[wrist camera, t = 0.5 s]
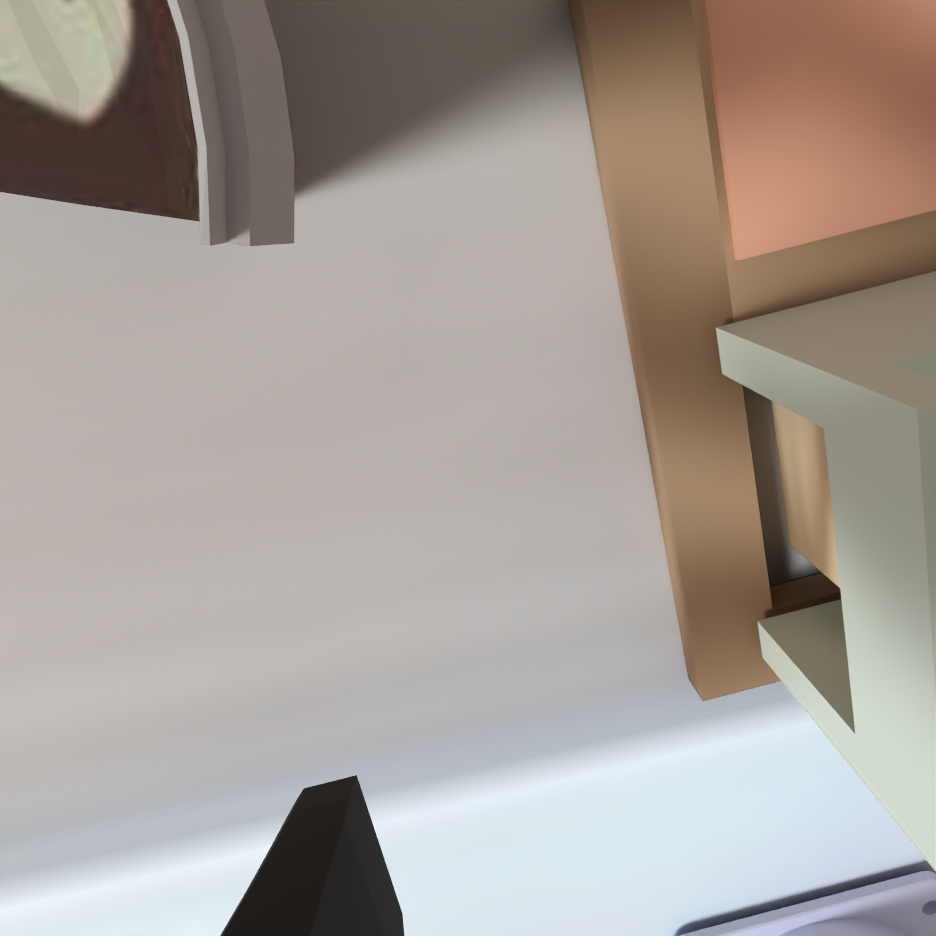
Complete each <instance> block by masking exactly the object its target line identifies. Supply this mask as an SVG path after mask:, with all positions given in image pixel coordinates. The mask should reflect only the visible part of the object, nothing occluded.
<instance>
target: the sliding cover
mask: <svg viewBox="0 0 936 936" xmlns="http://www.w3.org/2000/svg"><path fill="white" fill-rule="evenodd" d="M716 333H717V340H718V348H719V355H720V362H721V369H722V374H723V375H725V376H727V377H729V378H730V379H732V380H734V381H736V382H738V383H740V384H742V385H744V386H745V387H747V388H749V389H751V390H753V391H755V392H757V393H758V394H760V395H762V396H764V397H766V398H768V399H770V400H772V401H773V402H775V403H777V404H779V405H781V406H783V407H785V408H786V409H788V410H790V411H792V412H794V413H796V414H798V415H800V416H801V417H803V418H805V419H807V420H809V421H811V422H813V423H814V424H816V425H818V426H820V427H822V428H824V436H825V446H826V455H827V465H828V475H829V484H830V494H831V504H832V513H833V523H834V533H835V542H836V552H837V562H838V571H839V581H840V591H841V599H840V600H836V601H832V602H828V603H825V604H821V605H817V606H813V607H809V608H805V609H802V610H798V611H794V612H790V613H786V614H782V615H778V616H775V617H771V618H767V619H763V620H759V621H757V622H758V629H759V636H760V643H761V650H762V657H763V659H764V660H765V661H766V662H767V664H768V665H769V666H770V667H771V669H772V670H773V671H774V672H775V673H776V675H777V676H778V677H779V678H780V680H781V681H782V682H783V683H784V685H785V686H786V687H787V688H788V690H789V691H790V692H791V693H792V694H793V696H794V697H795V698H796V699H797V701H798V702H799V703H800V704H801V706H802V707H803V708H804V709H805V711H806V712H807V713H808V714H809V716H810V717H811V718H812V719H813V720H814V722H815V723H816V724H817V725H818V727H819V728H820V729H821V730H822V732H823V733H824V734H825V735H826V737H827V738H828V739H829V740H830V741H831V743H832V744H833V745H834V746H835V748H836V749H837V750H838V751H839V753H840V754H841V755H842V756H843V758H844V759H845V760H846V761H847V763H848V764H849V765H850V766H851V767H852V769H853V770H854V771H855V772H856V774H857V775H858V776H859V777H860V779H861V780H862V781H863V782H864V784H865V785H866V786H867V787H868V789H869V790H870V791H871V792H872V793H873V795H874V796H875V797H876V798H877V800H878V801H879V802H880V803H881V805H882V806H883V807H884V808H885V810H886V811H887V812H888V813H889V814H890V816H891V817H892V818H893V819H894V821H895V822H896V823H897V824H898V826H899V827H900V828H901V829H902V831H903V832H904V833H905V834H906V836H907V837H908V838H909V839H910V840H911V842H912V843H913V844H914V845H915V847H916V848H917V849H918V850H919V852H920V853H921V854H922V855H923V857H924V858H925V859H926V860H927V861H928V863H929V864H930V865H931V866H932V868H933V869H934V870H935V871H936V271H934V272H930V273H926V274H922V275H918V276H914V277H910V278H907V279H903V280H899V281H895V282H891V283H887V284H883V285H879V286H875V287H872V288H868V289H864V290H860V291H856V292H852V293H848V294H844V295H840V296H837V297H833V298H829V299H825V300H821V301H817V302H813V303H809V304H805V305H801V306H798V307H794V308H790V309H786V310H782V311H778V312H774V313H770V314H766V315H763V316H759V317H755V318H751V319H747V320H743V321H739V322H735V323H731V324H728V325H724V326H720V327H716Z"/></svg>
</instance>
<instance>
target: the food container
mask: <svg viewBox="0 0 936 936" xmlns="http://www.w3.org/2000/svg"><path fill="white" fill-rule="evenodd" d="M0 192H5V193H11V194H18V195H24V196H30V197H37V198H43V199H49V200H56V201H62V202H68V203H75V204H81V205H88V206H95V207H102V208H109V209H116V210H123V211H130V212H137V213H145V214H152V215H159V216H166V217H173V218H180V219H187V220H194V221H200V240H201V244H203V245H216V244H221V243H226V242H228V243H234V244H240V245H247V246H257V245H272V244H288V243H294V150H293V142H292V135H291V128H290V120H289V113H288V105H287V98H286V91H285V83H284V76H283V68H282V61H281V57H280V54H279V50H278V47H277V43H276V39H275V36H274V32H273V29H272V25H271V22H270V18H269V15H268V11H267V7H266V4H265V0H0Z"/></svg>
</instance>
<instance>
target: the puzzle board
mask: <svg viewBox="0 0 936 936" xmlns="http://www.w3.org/2000/svg"><path fill="white" fill-rule="evenodd" d="M568 2H569V7H570V13H571V19H572V24H573V30H574V36H575V41H576V47H577V52H578V58H579V64H580V69H581V75H582V81H583V86H584V92H585V98H586V103H587V109H588V114H589V120H590V126H591V131H592V137H593V143H594V148H595V154H596V160H597V165H598V171H599V176H600V182H601V188H602V193H603V199H604V205H605V210H606V216H607V221H608V227H609V233H610V238H611V244H612V250H613V255H614V261H615V267H616V272H617V278H618V283H619V289H620V295H621V300H622V306H623V312H624V317H625V323H626V329H627V334H628V340H629V345H630V351H631V357H632V362H633V368H634V374H635V379H636V385H637V391H638V396H639V402H640V407H641V413H642V419H643V424H644V430H645V436H646V441H647V447H648V452H649V458H650V464H651V469H652V475H653V481H654V486H655V492H656V498H657V503H658V509H659V514H660V520H661V526H662V531H663V537H664V543H665V548H666V554H667V560H668V565H669V571H670V576H671V582H672V588H673V593H674V599H675V605H676V610H677V616H678V621H679V627H680V633H681V638H682V644H683V650H684V655H685V661H686V667H687V672H688V678H689V680H690V682H691V683H692V685H693V687H694V688H695V690H696V691H697V693H698V695H699V696H700V698H701V700H702V701H706V700H710V699H714V698H717V697H721V696H725V695H729V694H733V693H737V692H740V691H744V690H748V689H752V688H756V687H760V686H763V685H767V684H771V683H775V682H779V681H781V680H780V678H779V677H778V676H777V675H776V673H775V672H774V671H773V670H772V669H771V667H770V666H769V665H768V664H767V662H766V661H765V660H764V659H763V657H762V650H761V643H760V636H759V629H758V622H757V621H759V620H763V619H767V618H771V617H775V616H778V615H782V614H786V613H790V612H794V611H798V610H802V609H805V608H809V607H813V606H817V605H821V604H825V603H828V602H832V601H836V600H840V599H841V591H840V588H839V587H838V586H837V585H836V584H835V583H833V582H832V581H831V580H830V579H829V578H828V577H827V576H825V575H824V574H823V573H820V574H816V575H813V576H809V577H805V578H801V579H797V580H793V581H789V582H786V583H782V584H778V585H774V586H770V587H769V579H768V572H767V565H766V557H765V550H764V542H763V535H762V527H761V520H760V513H759V505H758V498H757V490H756V483H755V475H754V468H753V461H752V453H751V446H750V438H749V431H748V423H747V416H746V409H745V401H744V394H743V386H742V384H740V383H738V382H736V381H734V380H732V379H730V378H729V377H727V376H725V375H723V374H722V369H721V362H720V355H719V348H718V340H717V333H716V327H720V326H724V325H728V324H731V323H735V322H739V321H743V320H747V319H751V318H755V317H759V316H763V315H766V314H770V313H774V312H778V311H782V310H786V309H790V308H794V307H798V306H801V305H805V304H809V303H813V302H817V301H821V300H825V299H829V298H833V297H837V296H840V295H844V294H848V293H852V292H856V291H860V290H864V289H868V288H872V287H875V286H879V285H883V284H887V283H891V282H895V281H899V280H903V279H907V278H910V277H914V276H918V275H922V274H926V273H930V272H934V271H936V0H568Z"/></svg>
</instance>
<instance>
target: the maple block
mask: <svg viewBox="0 0 936 936" xmlns="http://www.w3.org/2000/svg"><path fill="white" fill-rule="evenodd" d="M771 405H772V413H773V421H774V429H775V437H776V445H777V453H778V461H779V469H780V477H781V486H782V494H783V502H784V510H785V518H786V526H787V534H788V542H789V544H790V545H791V546H792V547H793V548H794V549H796V550H797V551H798V552H799V553H800V554H801V555H802V556H804V557H805V558H806V559H807V560H808V561H809V562H811V563H812V564H813V565H814V566H815V567H816V568H817V569H819V570H820V571H821V572H822V573H823V574H824V575H825V576H827V577H828V578H829V579H830V580H831V581H832V582H833V583H835V584H836V585H837V586H838V587H839V588H840V581H839V571H838V562H837V552H836V542H835V533H834V523H833V513H832V504H831V494H830V484H829V475H828V465H827V455H826V446H825V436H824V428H822V427H820V426H818V425H816V424H814V423H813V422H811V421H809V420H807V419H805V418H803V417H801V416H800V415H798V414H796V413H794V412H792V411H790V410H788V409H786V408H785V407H783V406H781V405H779V404H777V403H775V402H773V401H772V400H771Z"/></svg>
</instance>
